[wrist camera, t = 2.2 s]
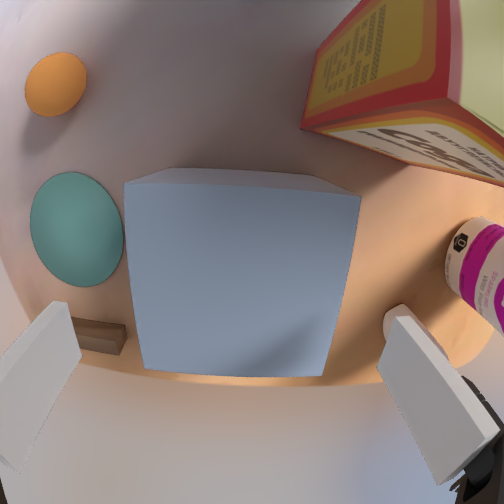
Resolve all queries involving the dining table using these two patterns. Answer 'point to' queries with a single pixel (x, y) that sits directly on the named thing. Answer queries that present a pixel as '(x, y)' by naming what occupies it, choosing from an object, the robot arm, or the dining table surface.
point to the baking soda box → (416, 84)
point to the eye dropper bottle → (405, 311)
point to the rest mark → (76, 229)
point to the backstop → (99, 336)
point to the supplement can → (479, 268)
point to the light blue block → (237, 269)
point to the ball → (55, 84)
